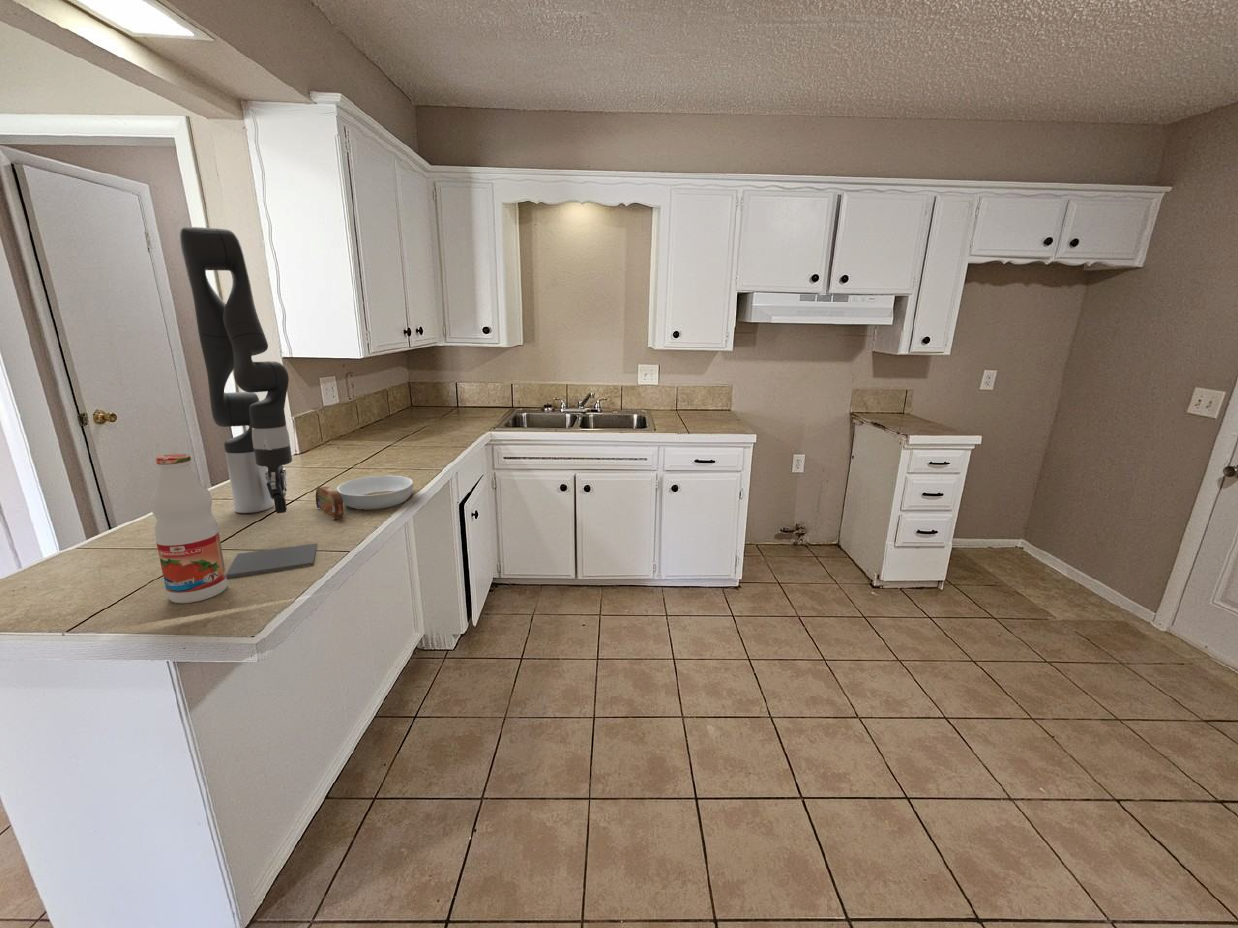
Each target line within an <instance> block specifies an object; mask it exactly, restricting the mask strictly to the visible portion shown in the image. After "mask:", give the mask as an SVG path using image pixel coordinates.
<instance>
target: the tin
mask: <svg viewBox="0 0 1238 928" xmlns="http://www.w3.org/2000/svg"><path fill="white" fill-rule="evenodd" d="M315 503H316V509H317V508H320V509H321V510H320V509H319V510H320V511H322V512H323V511H324V512H323V513H325V514H326V513H327V514H328V516H329V517H330V516H331V517H330V518H331V519H332V520H333V521H335V519H336V520H340V519H343V518H344V503H343V499H342V496H341V494H340V493H339V492H338V491H337V489H336V490H335V489H334V488H332V487H330V486H321V487H320V486H319V487H317V489H316V490H315ZM327 514H326V515H327ZM342 517H343V518H342ZM333 518H334V519H333ZM339 518H340V519H339Z"/></svg>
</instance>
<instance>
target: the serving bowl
mask: <svg viewBox="0 0 1238 928" xmlns="http://www.w3.org/2000/svg"><path fill="white" fill-rule="evenodd" d="M413 489H414V481H413V479H412V478H410V477H406V476H402V475H401V476H400V475H388V474H387V475H373V476H364V477H359V478H354V479H351V480H348V481H345V482H343V483H341V484H339V485H338V486H337V488H336V491H338V492H339V493H340V494H341V496H342V499H343V505H345V506H347V507H349V508H351V509H354V508H355V509H356V510H361V509H364V511H366V510H380V509H385V508H391V507H395V506H397V505H399V504H402V503H404V502H406V501H407V500H408V499H409V498H410V497H411V495H412V493H413ZM380 492H387V493H380ZM373 493H380V494H373ZM368 494H369V495H368Z"/></svg>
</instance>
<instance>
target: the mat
mask: <svg viewBox="0 0 1238 928" xmlns="http://www.w3.org/2000/svg"><path fill="white" fill-rule="evenodd" d="M317 548H318V543H317V542H316V543H310V544H309V543H308V544H302V545H295V546H294V545H293V546H286V547H278V548H270V549H263V550H254V551H248V552H241V553H237V554H236V556H235V558H234V559H233V561H232V563H231V565H230V566H229V569H228V570H227V571H226V577H227V579H231V578H239V577H247V576H253V575H259V574H266V573H273V572H279V571H281V572H282V571H286V570H287V571H288V570H293V568H294V569H298V567H300V568H304V567H303V566H306V567H309V566H308V565H311V566H314V564H315V559H316V553H317Z"/></svg>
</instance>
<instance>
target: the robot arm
mask: <svg viewBox="0 0 1238 928" xmlns="http://www.w3.org/2000/svg"><path fill="white" fill-rule="evenodd" d="M178 236H179V245H180V250H181V253H182V254H181V255H182V258H183V263H184V266H185V269H186V273H187V277H188V281H189V285H190V289H191V293H192V299H193V306H194V311H195V318H196V325H197V331H198V332H197V333H198V336H199V342H200V346H201V351H202V356H203V360H204V363H205V369H206V374H207V375H206V376H207V380H208V381H207V382H208V384H207V385H208V391H209V399H210V401H209V402H210V409H211V410H210V411H211V415H212V419H213V420H214V423H215V424H216V425H217V426H218V427H221V428H227V427H229V428H231V427H245V426H246V427H247V426H248V429H247V430H246V431H244V432H242V433H241V434H239V435H236V436H235V437H231V438H228V439H227V440H226V441H224V447H223V448H224V452H225V458H226V463H227V470H228V476H229V482H230V488H231V495H232V501H233V506H234V511H235V512H236V513H239V514H251V513H258V512H259V513H260V512H263V511H266V510H269V509H272V508H273V507H274V508H275V509H274V510H275V513H276V514H284V513H286V512H287V508H288V507H287V502H286V496H287V493H286V492H287V490H288V489H287V485H288V483H287V477H286V476H287V468H284V466H285V465H288V464H291V462H293V455H292V450H291V449H292V448H291V443H290V436H289V432H288V428H287V427H288V426H287V421H286V420H287V419H286V413H285V407H286V398H287V392H288V388H289V381H290V380H289V379H290V378H289V373H288V371H287V368H286V367H285V366H284V365H283V364H282V363H280V362H278V361H271V360H270V361H269V360H268V361H253V358H252V357H253V356H257V355H260V354H261V355H262V354H263V353H265V352H266V351H267V350H268V348H269V343H268V341H267V337H266V334H265V332H264V329H263V326H262V324H261V322H260V321H261V320H260V319H259V316H258V313H257V309H256V306H255V301H254V296H253V291H252V286H251V283H250V282H251V281H250V276H249V274H248V273H249V272H248V268H247V264H246V260H245V254H244V251H243V249H242V246H241V243H240V241H239V238H238V236H236V234H235V233H234V232H233V231H232V230H230V229H227V228H226V229H225V228H217V227H216V228H214V227H200V226H199V227H198V226H197V227H196V226H184V227H181V229H180V231H179V235H178ZM206 271H227V272H228V271H229V272H230V274H231V279H232V287H231V290H230V293H229V296H228V299H227V300H226V302H225V301H224V300H223V299H222V298H221V297H220V295H218V294H217V292H216V291H215V290H214V288H213V287H212V286H211V283H210V282H209V279H208V277H207V272H206ZM233 371H234V372H233ZM232 373H233V376H234V380H235V383H236V385H237V387H238V388H239V389H240V390H242V391H243V392H242V391H240V392H239V391H238V392H237V391H236V392H225V388H226V384H227V382H228V379H229V378H230V376H231V374H232ZM264 392H266V393H267V394H266V395H265V397H264V398H263V399H262V400H260V398H259V396H258V395H257V393H264Z"/></svg>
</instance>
